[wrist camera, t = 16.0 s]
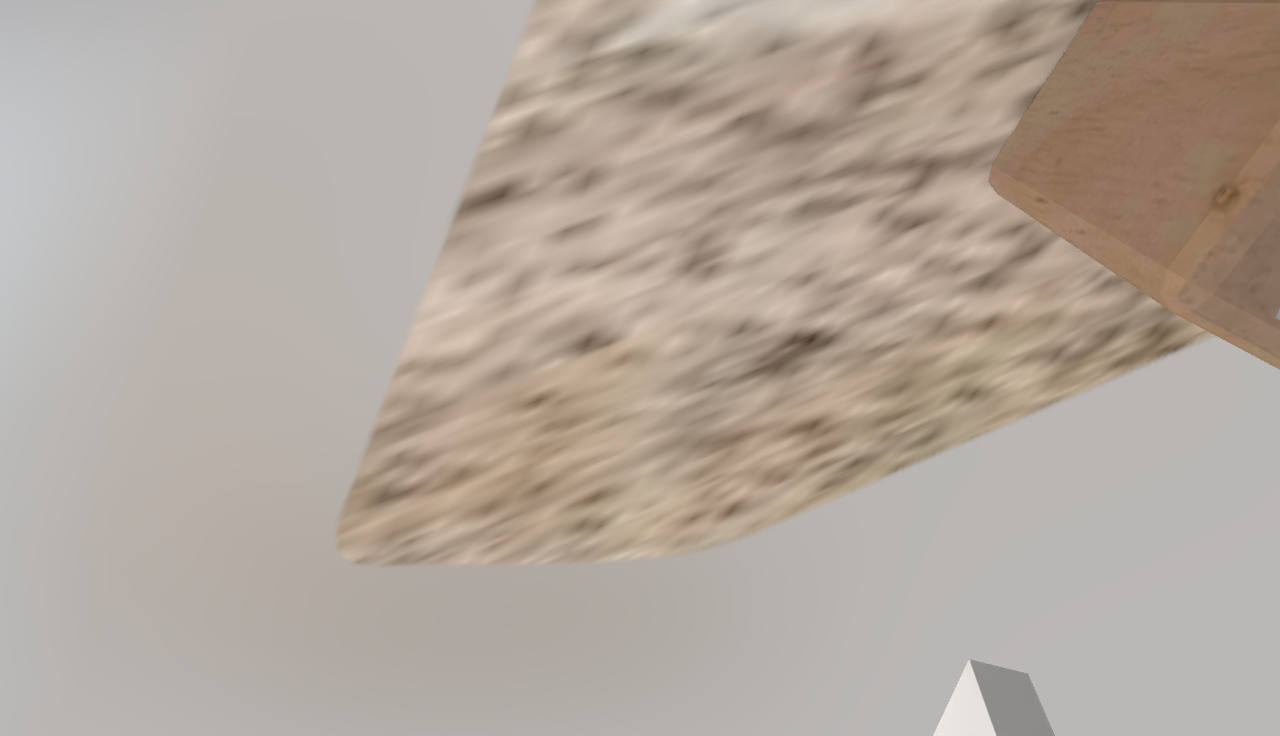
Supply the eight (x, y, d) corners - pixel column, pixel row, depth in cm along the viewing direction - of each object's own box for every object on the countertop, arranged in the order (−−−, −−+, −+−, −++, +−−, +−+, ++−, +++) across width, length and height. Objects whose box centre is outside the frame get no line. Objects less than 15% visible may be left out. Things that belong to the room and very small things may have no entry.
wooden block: (973, 180, 45) (1160, 308, 26) (1102, -20, 41) (1423, -35, 23) (1145, 272, 46) (1441, 457, 27) (1286, 84, 42) (1735, 152, 24)
